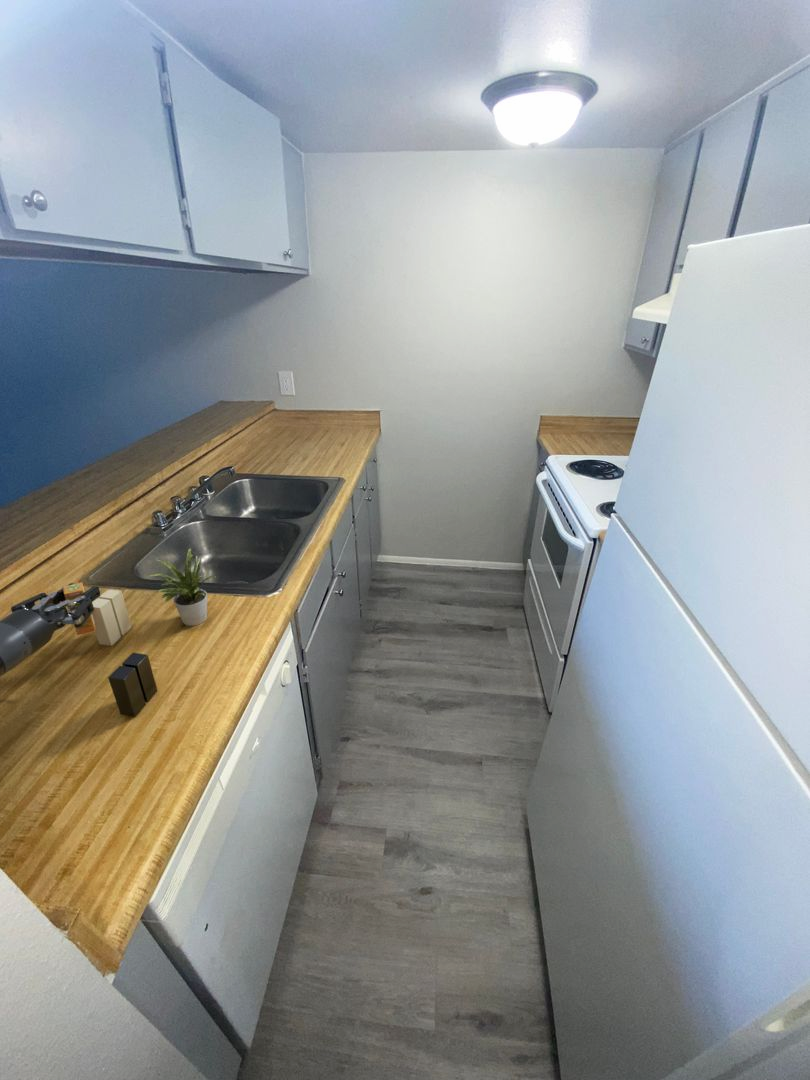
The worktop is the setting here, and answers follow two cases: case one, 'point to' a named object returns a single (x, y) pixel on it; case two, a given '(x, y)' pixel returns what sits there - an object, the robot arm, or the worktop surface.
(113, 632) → the cream boxes
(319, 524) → the worktop surface
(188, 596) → the house plant
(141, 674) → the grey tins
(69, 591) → the supplement box
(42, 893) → the worktop surface
